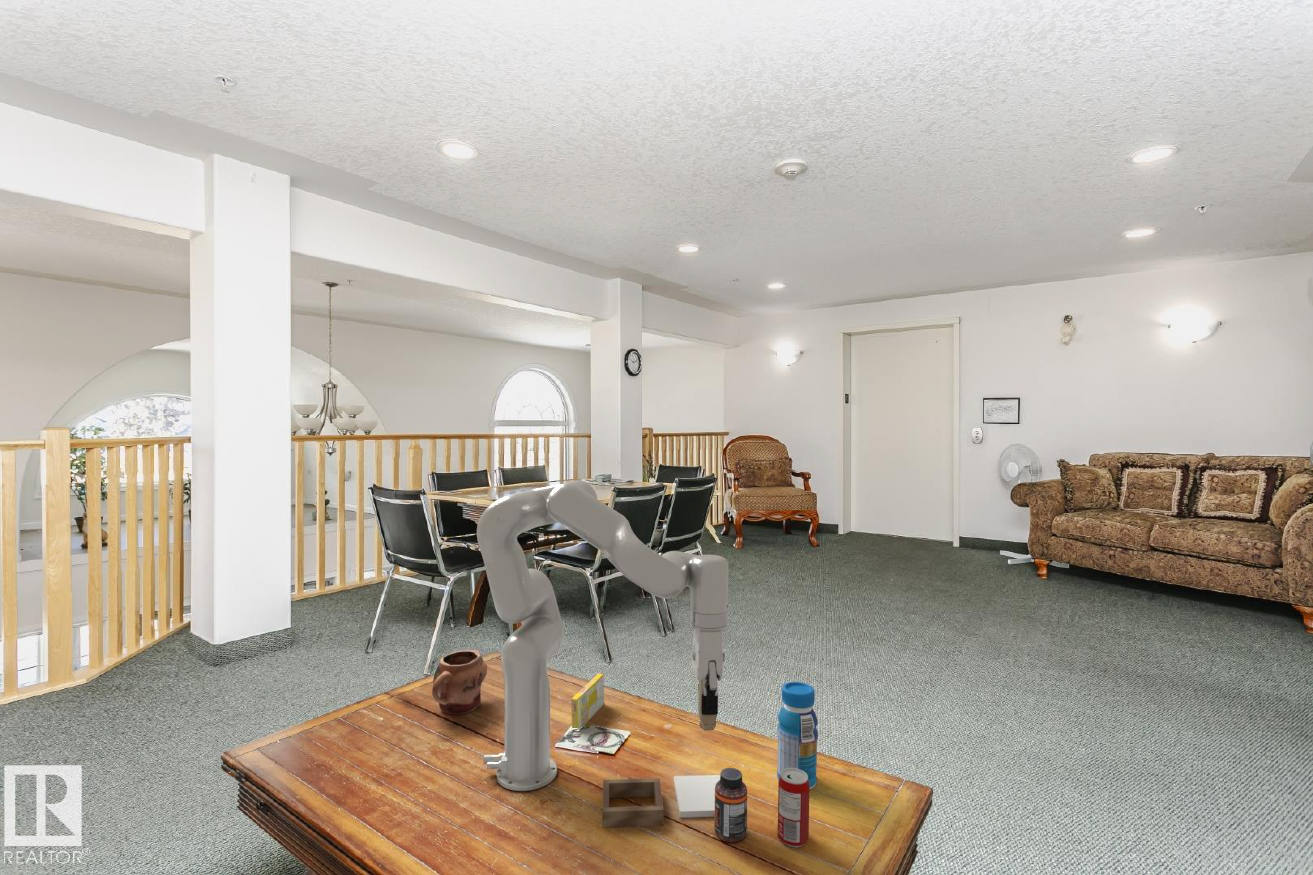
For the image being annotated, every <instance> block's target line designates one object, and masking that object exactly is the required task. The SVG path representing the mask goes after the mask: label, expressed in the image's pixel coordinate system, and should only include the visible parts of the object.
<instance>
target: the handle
mask: <svg viewBox="0 0 1313 875" xmlns="http://www.w3.org/2000/svg"><path fill="white" fill-rule="evenodd" d="M692 652H693V660H694V661H695V654H694V651H693V650H692ZM725 661H726V660H725V652H723V663H725ZM706 678H709V676H706ZM698 684H699V693H698V692H697V708H698V709H697V710H698V718H699V721H698V725H699V728H700V729H702V730H703V731H706V732H707V731H714V730H715V729H716V726H717V717H718V714H717V715H702V713H701V699H702V694H703V680H701V681H698ZM707 685H709V682H706V687H707Z"/></svg>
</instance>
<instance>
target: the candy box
mask: <svg viewBox="0 0 1313 875" xmlns="http://www.w3.org/2000/svg"><path fill="white" fill-rule="evenodd" d="M570 705H571V729H572V728H581V727H583V726H584V727H585V726H586V725H587V724H588V722H589V721H590V720H591V719H592V718H593V717H594V716H595V715H596V714H597V713H598V712H599V710H601V708H602V707H603V706H604V705H605V679H604V674H603V673H597V674H596V675H595V676H594V677H593V678H592V679H591V680H589V682H588V683H587V684H585V685H584V687H582V688H581V689H580V690H579V691H578V692H577V693H576V694H575V695H573V697H572V698H571V704H570ZM584 727H583V728H584Z"/></svg>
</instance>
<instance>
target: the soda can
mask: <svg viewBox="0 0 1313 875" xmlns="http://www.w3.org/2000/svg"><path fill="white" fill-rule="evenodd" d="M777 789H778V790H777V791H778V792H777V794H778V795H777V796H778V797H777V838H779V840H780V841H781V843H783V844H784V845H786V846H788V847H791V848H801V847H803V846H804V845H806V844H807V843H808V842H809V839H810V838H809V835H810V834H809V833H810V832H809V831H810V793H811V792H810V790H811V789H810V784H809V780H808V775H807V774H806V773H805V772H804V771H802V770H800V769H797V768H786V769H783V770H782V771H781V774H780V777H779V781H778V788H777Z"/></svg>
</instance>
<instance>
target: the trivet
mask: <svg viewBox="0 0 1313 875" xmlns="http://www.w3.org/2000/svg"><path fill="white" fill-rule="evenodd" d="M719 780H720V774H710V775H709V774H707V775H675V776H673V785H674V791H675V798H676V803H677V811H678V817H679V818H685V819H686V818H708V817H709V818H710V817H711V818H712V817H713V818H715V817H714V815H715V785H716V783H717V782H718V781H719Z"/></svg>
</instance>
